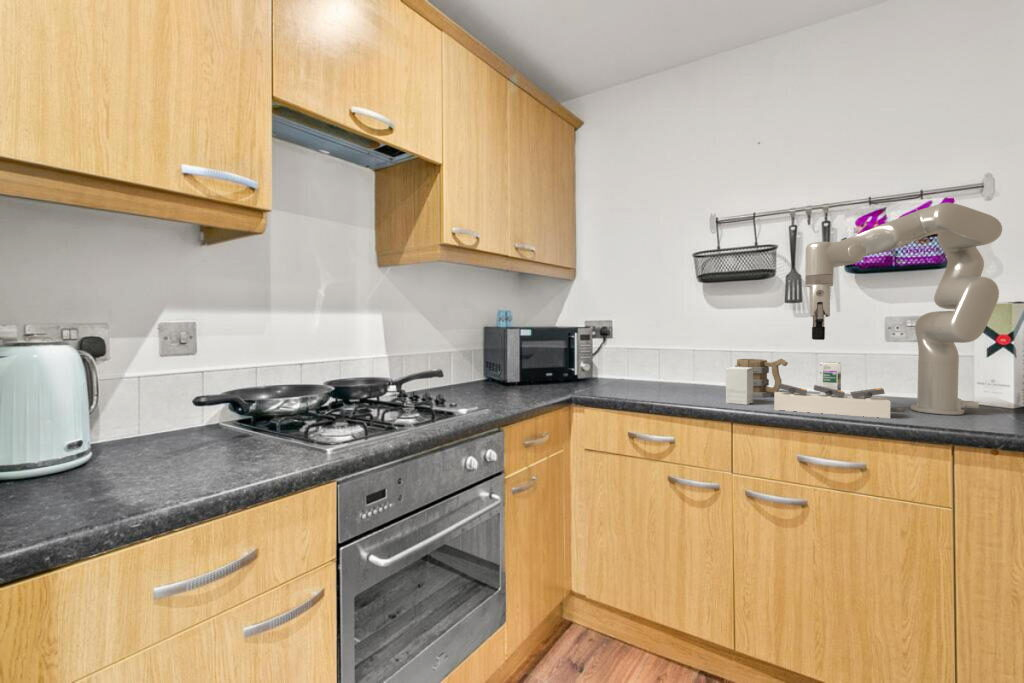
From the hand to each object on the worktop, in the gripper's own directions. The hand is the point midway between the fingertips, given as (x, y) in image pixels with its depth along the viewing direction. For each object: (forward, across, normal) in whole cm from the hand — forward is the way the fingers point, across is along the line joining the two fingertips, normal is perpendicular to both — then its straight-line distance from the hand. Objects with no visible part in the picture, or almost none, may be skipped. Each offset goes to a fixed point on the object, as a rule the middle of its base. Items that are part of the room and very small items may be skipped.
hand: (818, 338), depth 153 cm
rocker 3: (+17, 0, -13) cm, 21 cm away
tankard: (+23, +28, +17) cm, 40 cm away
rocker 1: (+17, 0, +7) cm, 18 cm away
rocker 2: (+17, 0, -3) cm, 17 cm away
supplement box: (+23, +7, +23) cm, 34 cm away
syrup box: (+23, +20, -5) cm, 31 cm away
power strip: (+23, 0, -5) cm, 24 cm away
